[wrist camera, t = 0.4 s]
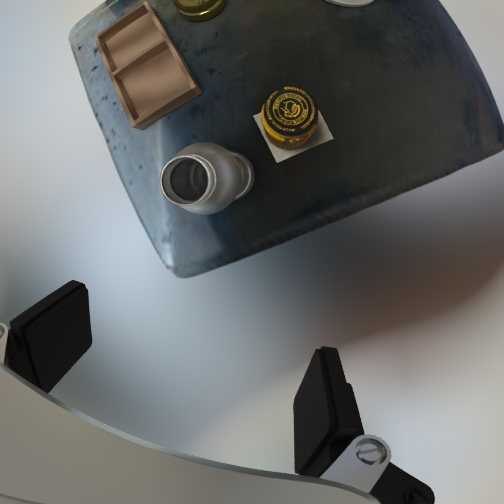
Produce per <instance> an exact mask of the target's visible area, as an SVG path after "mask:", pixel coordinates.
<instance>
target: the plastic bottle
mask: <svg viewBox="0 0 504 504" xmlns="http://www.w3.org/2000/svg"><path fill="white" fill-rule="evenodd" d="M254 178H255V173H254V169H253V166H252V164H251V163H250V161H249V160H248V159H247V158H246V157H245V156H243V155H242V154H240V153H237V152H234V151H228V150H227V149H225V148H224V147H222V146H220V145H217V144H214V143H209V142H200V143H195V144H192V145H189V146H187V147H185V148H184V149H183V150H181V151H180V152H179V153H178V154H177V155H176V156H175V157H174V158H173V159H171V160H170V161H169V162H168V163H167V164H166V165H165V166H164V168H163V170H162V172H161V175H160V186H161V190H162V192H163V194H164V196H165V197H166V198H167V199H168V200H169V201H170V202H172V203H174V204H176V205H179V206H180V207H182V208H184V209H185V210H187V211H190V212H192V213H196V214H212V213H216V212H218V211H221V210H223V209H224V208H226V207H227V206H228V205H229V204H230V203H231V202H232V201H233V200H237V199H239V198H242V197H243V196H245V195H246V194H247V193H248V192H249V191H250V189H251V188H252V186H253V183H254Z"/></svg>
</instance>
